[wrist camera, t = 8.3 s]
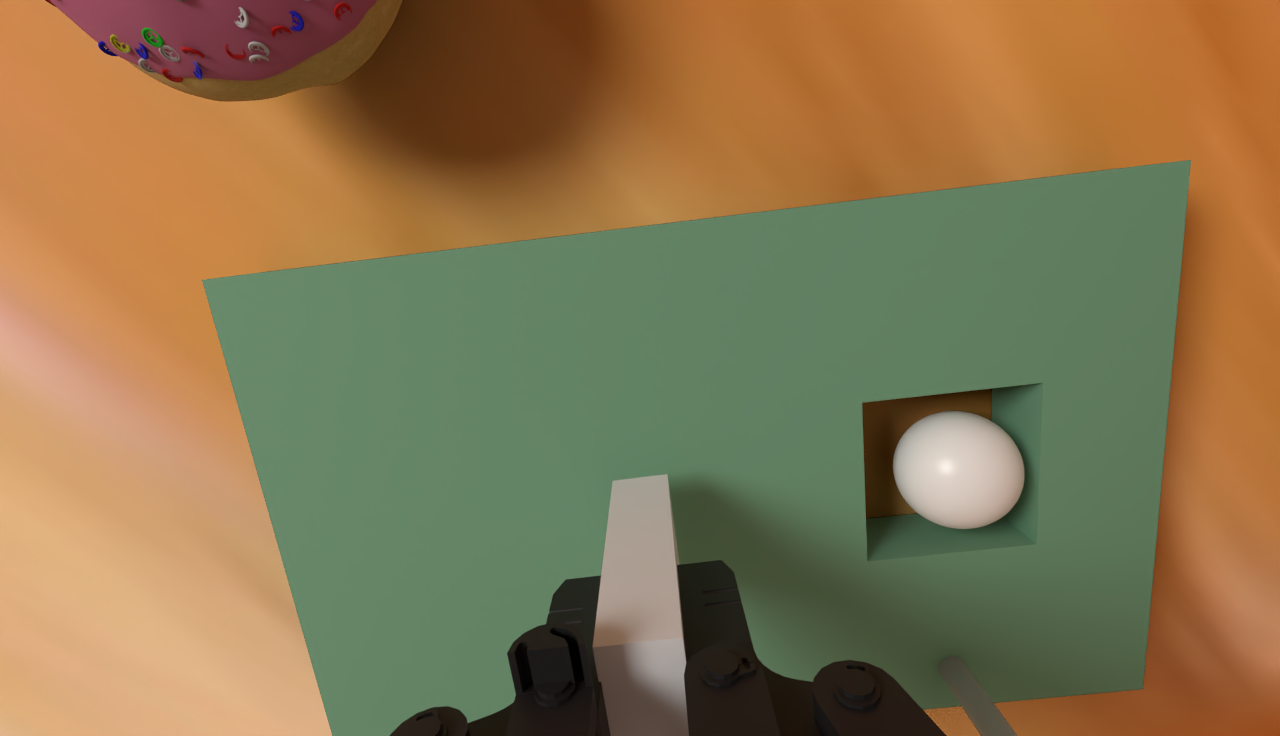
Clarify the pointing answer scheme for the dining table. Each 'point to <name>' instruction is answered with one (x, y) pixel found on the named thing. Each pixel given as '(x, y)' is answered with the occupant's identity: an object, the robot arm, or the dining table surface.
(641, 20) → the dining table surface
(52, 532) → the dining table surface
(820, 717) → the robot arm
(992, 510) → the ball
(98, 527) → the dining table surface
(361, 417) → the putting mat
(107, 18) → the cupcake
